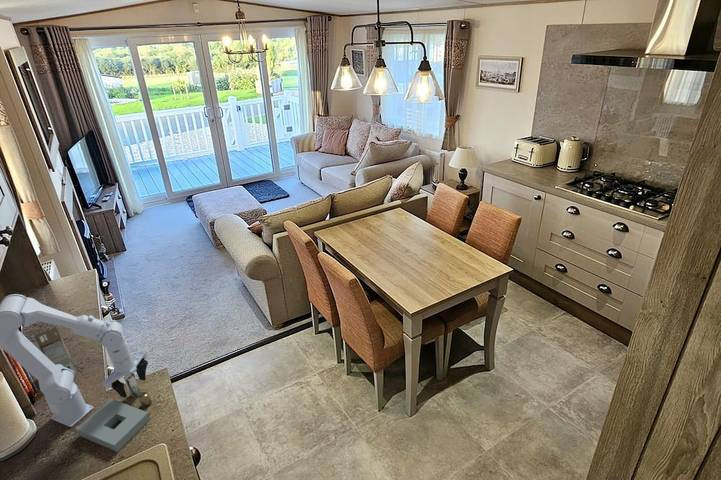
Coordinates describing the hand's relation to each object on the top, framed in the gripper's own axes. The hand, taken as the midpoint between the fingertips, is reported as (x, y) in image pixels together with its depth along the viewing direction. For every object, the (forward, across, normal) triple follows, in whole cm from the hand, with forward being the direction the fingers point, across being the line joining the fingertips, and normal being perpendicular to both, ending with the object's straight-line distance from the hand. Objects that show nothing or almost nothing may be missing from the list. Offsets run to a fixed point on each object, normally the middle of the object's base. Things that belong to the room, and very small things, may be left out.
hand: (133, 387), depth 135 cm
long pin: (+3, 0, 0) cm, 3 cm away
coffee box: (+3, -1, +34) cm, 34 cm away
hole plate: (+3, -12, -5) cm, 13 cm away
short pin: (+3, -2, -7) cm, 8 cm away
